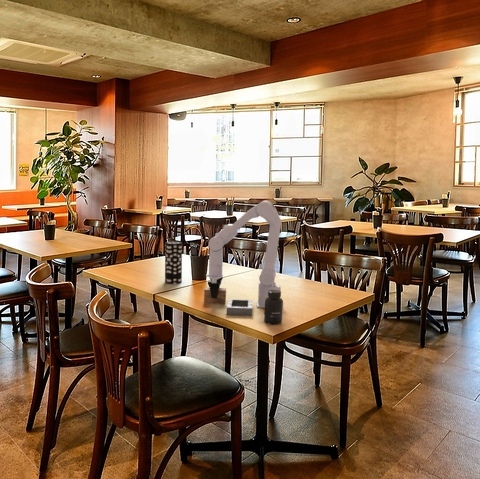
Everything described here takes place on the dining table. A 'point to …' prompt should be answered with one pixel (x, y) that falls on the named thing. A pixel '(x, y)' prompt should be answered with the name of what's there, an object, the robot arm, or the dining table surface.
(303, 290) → the dining table surface
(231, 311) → the cradle
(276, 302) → the supplement bottle
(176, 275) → the spotted tube
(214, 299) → the walnut block
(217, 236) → the robot arm
